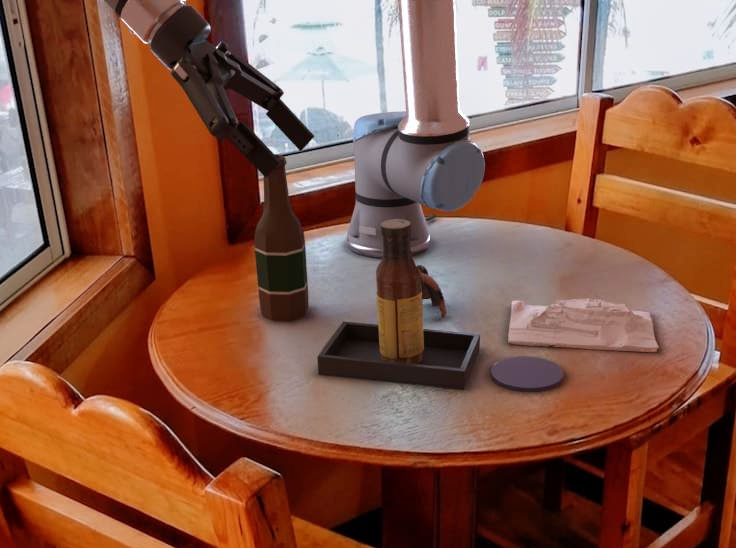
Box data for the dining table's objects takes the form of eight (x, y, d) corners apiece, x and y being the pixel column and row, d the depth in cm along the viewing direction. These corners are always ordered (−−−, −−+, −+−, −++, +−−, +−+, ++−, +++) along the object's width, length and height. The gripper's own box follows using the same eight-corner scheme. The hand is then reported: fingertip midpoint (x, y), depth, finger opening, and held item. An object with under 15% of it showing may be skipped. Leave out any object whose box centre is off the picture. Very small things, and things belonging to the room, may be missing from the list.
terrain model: (501, 315, 157) (501, 284, 154) (645, 309, 156) (647, 278, 154) (509, 358, 143) (509, 325, 140) (667, 352, 142) (671, 319, 140)
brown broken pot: (450, 329, 150) (425, 288, 145) (396, 349, 154) (370, 310, 149) (453, 282, 158) (430, 242, 153) (402, 302, 162) (378, 264, 157)
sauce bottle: (427, 353, 141) (428, 216, 130) (419, 372, 136) (420, 231, 125) (382, 350, 142) (380, 214, 131) (373, 368, 137) (370, 228, 126)
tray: (343, 338, 146) (342, 321, 145) (479, 351, 143) (480, 333, 141) (318, 374, 136) (317, 356, 135) (463, 389, 132) (464, 371, 131)
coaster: (496, 356, 141) (496, 353, 141) (566, 363, 139) (566, 359, 139) (485, 387, 133) (485, 383, 133) (558, 395, 131) (559, 391, 131)
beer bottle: (250, 317, 153) (235, 159, 140) (277, 300, 159) (265, 147, 145) (293, 326, 150) (281, 166, 137) (319, 308, 156) (310, 153, 143)
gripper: (191, 32, 134) (303, 152, 139) (104, 64, 113) (238, 203, 119) (224, -10, 130) (337, 115, 135) (139, 15, 109) (277, 160, 115)
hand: (291, 156), depth 127 cm, fingers open, 13 cm apart
